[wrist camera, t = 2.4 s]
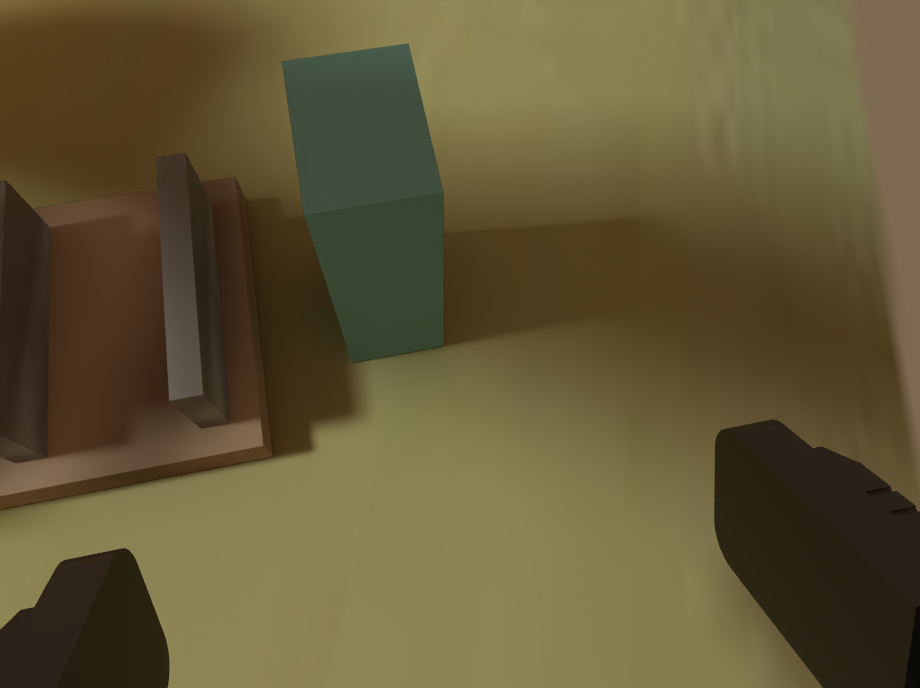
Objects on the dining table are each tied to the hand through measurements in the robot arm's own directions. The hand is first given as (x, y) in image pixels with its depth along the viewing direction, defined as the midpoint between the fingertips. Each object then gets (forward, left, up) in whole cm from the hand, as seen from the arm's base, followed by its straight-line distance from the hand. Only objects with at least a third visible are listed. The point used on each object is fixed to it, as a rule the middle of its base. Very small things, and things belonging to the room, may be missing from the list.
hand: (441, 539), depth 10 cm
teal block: (-9, +7, -15) cm, 19 cm away
